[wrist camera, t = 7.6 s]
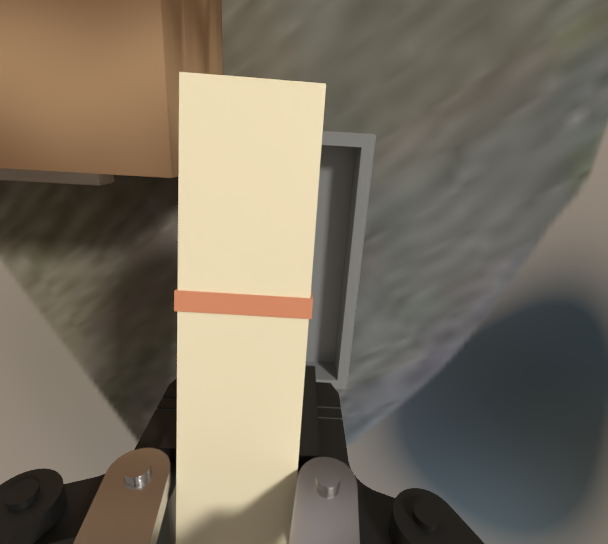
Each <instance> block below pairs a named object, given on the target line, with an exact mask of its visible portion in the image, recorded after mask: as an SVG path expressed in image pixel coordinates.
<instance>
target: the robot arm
mask: <svg viewBox="0 0 608 544" xmlns="http://www.w3.org/2000/svg"><path fill="white" fill-rule="evenodd" d="M340 408H341V406H340V399H339V394H338V392H337V391H336V390H335V388H334V387H333V385H332V384H331V383H325V382H316V373H315V366H310V365H305V378H304V392H303V406H302V419H301V433H300V447H299V460H298V474H297V485H296V493H295V500H294V508H293V515H292V522H291V530H290V537H289V544H484V543H483V542H482V540H481V539H480V538H479V537H478V536H477V535H476V534H475V533H474V532H473V531H472V530H471V529H470V527H468V525H467V524H466V523H465V522H464V521H463V520H462V519H461V518H460V517H459V515H458V514H457V513H456V512H455V511H454V510H453V509H452V508H451V507H450V506H449V505H448V504H447V503H446V502H445V501H444V500H443V499H442V498H440V497H439V496H438V495H436V494H434V493H432V492H430V491H427V490H424V489H419V488H412V489H407V490H404V491H402V492H401V493H400V494H398V496H397V497H396V498H393V497H390V496H387V495H385V494H382V493H379V492H376V491H374V490H372V489H370V488H368V487H367V486H365V485H364V484H363V483H361V482H360V481H359V480H358V479H357V478H356V476H355V475H354V473H353V472H352V470H351V468H350V466H349V462H348V456H347V448H346V441H345V434H344V427H343V420H342V413H341V409H340ZM176 450H177V379H176V380H174V381H173V382H172V383H171V384H170V385H169V387H168V388H167V390H166V392H165V394H164V396H163V399H162V400H161V401H160V403H159V405H158V407H157V410H156V411H155V412H154V414H153V416H152V418H151V420H150V422H149V424H148V425H147V427H146V429H145V431H144V433H143V435H142V437H141V438H140V440H139V442H138V444H137V446H136V448H135V450H133V451H130V452H128V453H126V454H125V455H123V456H121V457H120V458H118V459H117V460H116V461H115V462H114V463H113V464H112V465H111V466H110V467H109V469H108V470H107V472H106V474H103V475H101V476H98V477H94V478H90V479H85V480H81V481H77V482H72V483H68V484H63V479H62V477H61V475H59V473H57V472H56V471H54V470H51V469H36V470H31V471H27V472H24V473H22V474H19V475H17V476H15V477H13V478H11V479H9V480H8V481H6V482H4V483H3V484H1V485H0V544H176Z"/></svg>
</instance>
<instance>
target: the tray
mask: <svg viewBox="0 0 608 544" xmlns="http://www.w3.org/2000/svg"><path fill="white" fill-rule="evenodd" d="M375 139H376V134H364V133H347V132H331V131H323V132H322V146H321V160H320V173H319V187H318V201H317V214H316V228H315V242H314V255H313V269H312V283H311V291H312V296H313V307H312V319H309V324H308V337H307V351H306V365H310V366H315V373H316V382H325V383H331V384H332V385H333V387H334V388H335V389H347V382H348V374H349V365H350V356H351V348H352V339H353V330H354V322H355V313H356V304H357V296H358V287H359V278H360V270H361V261H362V252H363V244H364V235H365V226H366V218H367V209H368V200H369V191H370V183H371V174H372V165H373V157H374V148H375Z"/></svg>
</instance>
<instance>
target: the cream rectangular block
mask: <svg viewBox="0 0 608 544" xmlns="http://www.w3.org/2000/svg"><path fill="white" fill-rule="evenodd" d="M325 91H326V84H324V83H312V82H299V81H287V80H275V79H262V78H250V77H238V76H225V75H213V74H201V73H188V72H179V175H178V288H177V289H176V290H174V311H178V313H177V450H176V544H289V537H290V530H291V522H292V515H293V508H294V500H295V493H296V485H297V474H298V460H299V447H300V433H301V419H302V406H303V392H304V378H305V365H306V351H307V337H308V324H309V319H312V307H313V296H312V291H311V283H312V269H313V255H314V242H315V228H316V214H317V201H318V187H319V173H320V160H321V146H322V132H323V119H324V105H325Z"/></svg>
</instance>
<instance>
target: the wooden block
mask: <svg viewBox="0 0 608 544" xmlns="http://www.w3.org/2000/svg"><path fill="white" fill-rule="evenodd" d="M179 72H188V73H201V74H213V75H223V68H222V7H221V0H0V180H11V181H28V182H46V183H64V184H81V185H99V186H100V185H105V184H110V183H114V175H128V176H145V177H163V178H174V177H178V175H179Z"/></svg>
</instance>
